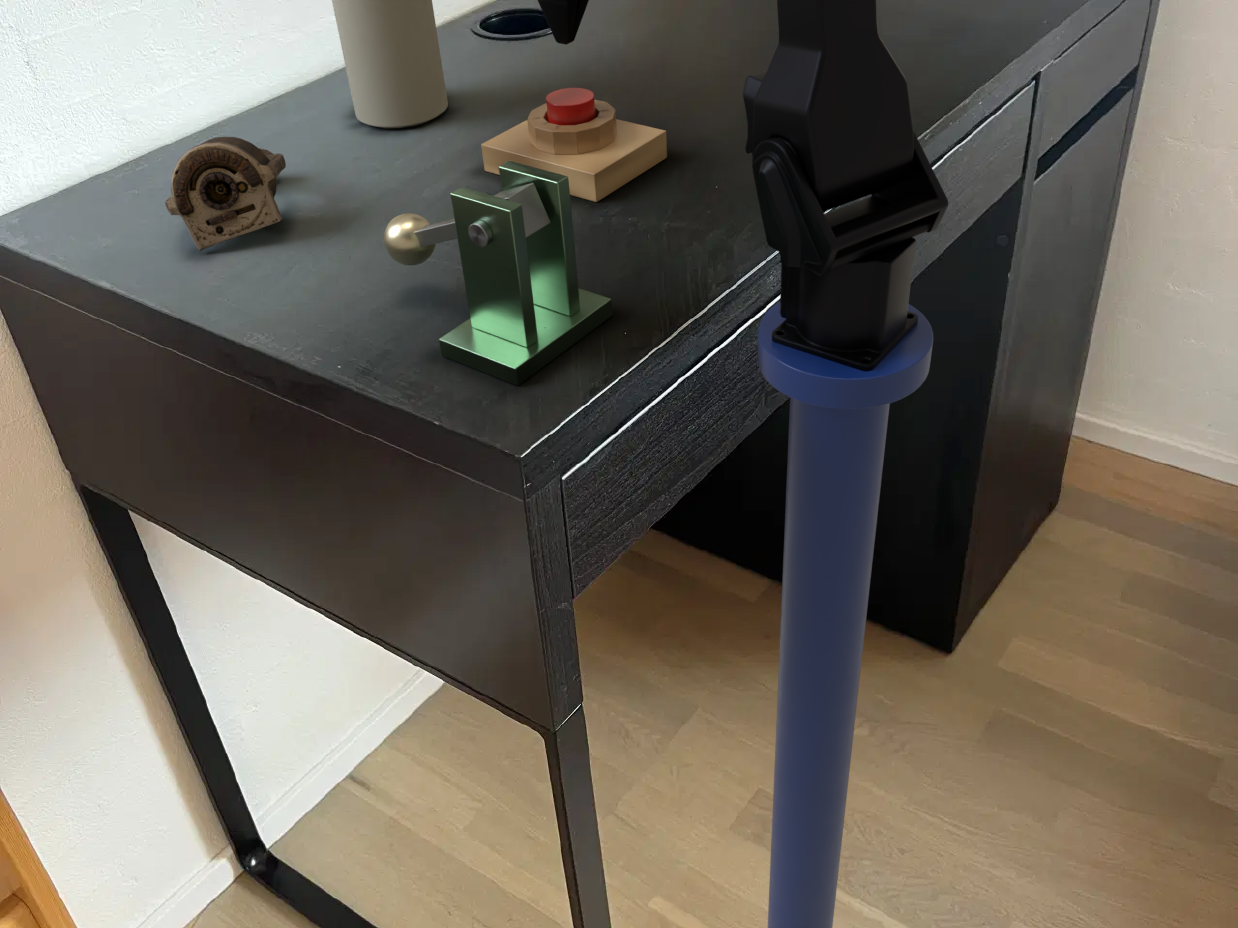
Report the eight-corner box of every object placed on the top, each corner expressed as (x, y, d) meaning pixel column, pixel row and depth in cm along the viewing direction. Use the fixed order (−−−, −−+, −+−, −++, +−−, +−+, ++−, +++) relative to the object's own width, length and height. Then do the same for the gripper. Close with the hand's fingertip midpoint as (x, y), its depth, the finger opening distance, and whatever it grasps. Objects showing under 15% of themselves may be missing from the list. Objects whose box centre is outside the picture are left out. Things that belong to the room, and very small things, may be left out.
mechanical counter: (103, 184, 77) (226, 157, 74) (186, 96, 86) (298, 69, 83) (161, 271, 82) (279, 250, 79) (234, 179, 91) (342, 156, 88)
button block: (667, 157, 88) (665, 107, 86) (596, 202, 83) (592, 150, 80) (557, 130, 94) (552, 82, 91) (484, 171, 88) (477, 121, 86)
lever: (388, 277, 72) (365, 229, 71) (423, 255, 74) (402, 209, 73) (522, 248, 63) (498, 194, 62) (559, 225, 65) (536, 172, 64)
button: (605, 115, 86) (603, 92, 85) (575, 132, 84) (573, 109, 83) (568, 106, 88) (566, 84, 87) (538, 123, 86) (535, 100, 85)
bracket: (441, 356, 68) (413, 204, 62) (538, 290, 73) (521, 145, 67) (517, 386, 65) (496, 229, 59) (612, 315, 70) (601, 165, 64)
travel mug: (459, 119, 97) (424, -113, 86) (366, 138, 95) (318, -98, 84) (435, 89, 103) (400, -131, 92) (348, 106, 101) (301, -117, 90)
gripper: (540, -232, 82) (559, -7, 92) (348, -185, 71) (394, 65, 81) (666, -227, 77) (673, 11, 86) (481, -176, 65) (513, 92, 75)
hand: (565, 42), depth 82 cm, fingers closed
